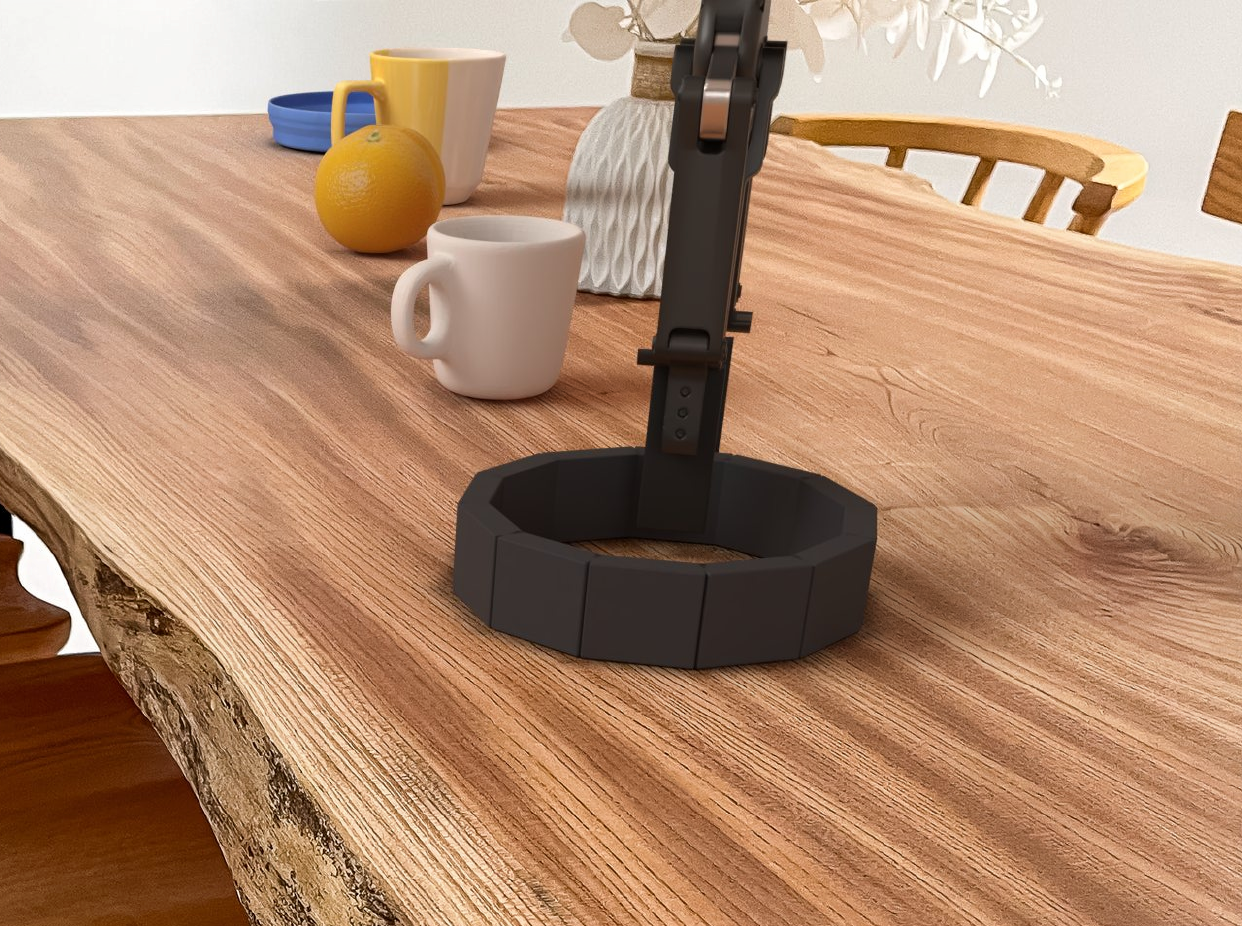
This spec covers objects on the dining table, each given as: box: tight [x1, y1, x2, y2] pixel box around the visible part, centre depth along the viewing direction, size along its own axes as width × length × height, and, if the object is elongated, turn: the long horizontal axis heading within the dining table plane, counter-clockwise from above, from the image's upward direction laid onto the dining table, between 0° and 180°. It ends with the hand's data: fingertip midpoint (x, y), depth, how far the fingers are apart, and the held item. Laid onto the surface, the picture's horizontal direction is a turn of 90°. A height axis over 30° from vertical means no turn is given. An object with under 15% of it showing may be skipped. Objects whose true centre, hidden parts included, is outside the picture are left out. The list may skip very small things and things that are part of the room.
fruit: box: [314, 125, 446, 254], centre depth 132 cm, size 9×8×8 cm
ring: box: [451, 445, 878, 670], centre depth 75 cm, size 15×15×4 cm
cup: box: [390, 214, 587, 401], centre depth 99 cm, size 11×8×8 cm
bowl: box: [267, 90, 377, 153], centre depth 177 cm, size 18×18×4 cm
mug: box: [331, 46, 507, 206], centre depth 149 cm, size 14×10×10 cm
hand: (675, 509), depth 81 cm, fingers open, 4 cm apart
